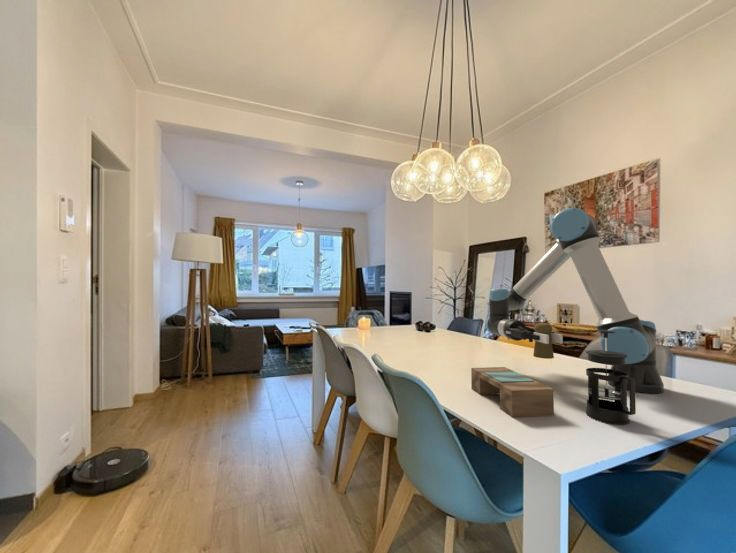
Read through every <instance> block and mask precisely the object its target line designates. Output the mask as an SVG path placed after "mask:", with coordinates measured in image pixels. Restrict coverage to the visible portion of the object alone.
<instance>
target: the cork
mask: <svg viewBox="0 0 736 553" xmlns="http://www.w3.org/2000/svg"><path fill="white" fill-rule="evenodd" d="M533 328H534V329H535V332H536V333H541V334H546V335H549V344H545V343H541V342H538V341H534V347H533V356H532V357H534V358H538V359H547V360H549V359H555V356H554V355H555V354H554V350H553V344H552V341H551V336H550V333H551V332H552V331H553V327H552V325H551V324H550V323H547V322H538V323H535V325H534V327H533Z"/></svg>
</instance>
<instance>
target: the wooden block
mask: <svg viewBox="0 0 736 553" xmlns="http://www.w3.org/2000/svg"><path fill="white" fill-rule="evenodd" d="M470 369H471V372H470V373H471V385H470V386H471V390H472V391H473V392H475V393H477V394H478V395H480V396H483V395H484V396H485V395H486V396H487V395H499V410H501V412H504V413H505V414H507V415H508V416H509V417H511V418H524V417H525V418H528V417H546V416H547V417H549V416H550V415H551V416H554V415H555V408H554V407H555V405H554V404H555V401H554V396H555V395H554V394H555V393H554V388H552V387H550V386H548V385H545V384H543V383H541V382H540V381H537V380H534V379H532V378H530V377H528V376H525V375H523V374H521V373H519V372H517V371H514V370H512V369H510V368H509V367H506V366H497V367H493V366H492V367H491V366H490V367H471V368H470Z"/></svg>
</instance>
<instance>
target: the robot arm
mask: <svg viewBox="0 0 736 553" xmlns="http://www.w3.org/2000/svg"><path fill="white" fill-rule="evenodd" d="M598 232H599V224H598V221H597V220H596V218H595V217H594V216H592V215H591V214H589V213H588V212H586V211H585V210H583V209H581V208H578V207H577V208H576V207H567V208H565V209H562V210H560V211H558V212H557V213H556V214H555V215H554V216H553V217H552V220H551V222H550V233H551V234H552V236H553V237H554V238H555V243H554V245H552V247H551V248H550V249H548V251H546V253H545V254H544V255H543V256H542V257H541V258H540V259H539V260H538V261H537V262H536V263H535V264H534V265H533V266H532V267H531V268H530V270H529V271H527V272H526V273H525V275H523V276H522V278H520V279H519V281H518V282H517V283H516V284H514V286H513V287H512V288H511V289H510V290H509V289H508V288H491V289H490V290H489V296H488V298H489V302H488V303H489V317H487V319H486V321H485V326H484V327H485V329H486V331H487V332H489V333H490V334H493V335H494V336H499V337H502V338H506V339H507V340H513V341H518V342H519V341H523V340H524V341H525V340H528V342H529V343H533V342H535V341H538V342H541V343H545V344H549V335H546V334H541V333H536V332H535V329H534V327H530V326H526V324H525V323H524V322H523V321H521V320H516V319H513V318H512V319H511V318H510V311H518V310H520V309H521V308H523V307H524V306H525V303H526V301H527V300H528V299H529V298H530V297H531V296H532V295H533V294H534V293H535V292H536V291H537V290H538V289H539V288H541V286H542V285H544V283H545V282H546V281H547V280H549V278H551V277H552V275H554V273H556V272H557V271H558V270H559V269H560V268H561V267H562V266H563V265H564V264H565V263H566V262H567V261H568V260H569V259H570V258H571V260H572V262H573V264H574V266H575V268H576V271H577V274H578V276H579V278H580V280H581V282H582V284H583V287H584V289H585V291H586V293H587V296H588V297H589V300H590V302H591V305H592V306H593V309H594V311H595V314H596V316H597V318H598V321H597V322H596V324H595V326H596V329H597V330H610V331H614V332H616V333H608V338H607V351H612V352H618V353H622V354H626V355H627V356H628V357H627V358H625V365H610V366H611V367H610V369H613V370H618V371H621V372H624V373H627V374H628V377H629V378H633V379H635V393H644V394H645V393H647V394H659V393H661V394H662V393H664V390H665V384H664V382H663V380H662V377H661V375H660V373H659V370H658V367H657V343H656V342H657V341H656V339H657V338H656V337H657V336H656V333H657V329H656V324H655V323H654V322H653V321H649V320H643V319H642V320H641V319H640V318H639V315H638V314H634V313H633V312H631V311H629V308H628V306H627V303H626V302H625V300H624V297H623V296H622V293H621V292H620V289H619V287H618V285H617V282H616V280H615V279H614V277H613V274H612V272H611V270H610V268H609V266H608V264H607V261H606V260H605V258H604V255H603V253H602V251H601V249H600V247H599V243H600V241H601V237H600V234H599V233H598ZM598 334H599V336H600V346H601V350H604V351H605V338H604V334H603V333H601V332H598ZM550 336H551V342H553V343H556V344H563V341H564V340H563V338H564V336H563V334H559V333H556V332H555V331H553V330H552V332H551V333H550ZM607 376H614V375H613V374H607ZM607 384H609V385H610V386H612V387H614V381H607ZM627 391H629V380H628V381H627Z"/></svg>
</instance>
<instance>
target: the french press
mask: <svg viewBox="0 0 736 553" xmlns="http://www.w3.org/2000/svg"><path fill="white" fill-rule="evenodd" d="M596 332H597V333H599V332H601V333H603V334H604V338H605V351H604V350H602V349H600V350H599V349H595V350H594V349H593V350H590V349H589V350H586V351H585V353H586V354H587V359H588V361H589V362H592V363H597V364H601V365H604V366H605V368H604V367H603V368H602V367H588V368H586V369H585V372H586V373H585V375H586V376H587V381H588V382H587V386H588V388H587V393H588V396H587V397H588V398H587V400H586V410H585V414H587V415H586V416H587V417H588V416H589V417H588V418H590V417H591V419H592V418H593V419H592V420H594V419H595V421H597V420H598V421H597V422H600V421H601V423H604V422H605V423H604V424H610V425H615V424H616V426H617V425H618V426H621V425H623V426H624V425H628V424H630V422H631V421H630V418H629V417H630V416H633V415H636V412H637V410H636V409H637V408H636V391H635V379H633V378H629V377H628V374H627V373H624V372H621V371H618V370H613V369H611V368H608V365H610V366H612V365H625V358H627V357H628V356H627V355H626V354H622V353H618V352H612V351H607V338H608V333H616V332H614V331H610V330H598V329H597V330H596ZM608 374H613V375H614V376H608ZM601 380H602V381H605V388H602V387H601V388H600V387H599V385H600V384H599V382H600V381H601ZM628 380H629V390H627V381H628ZM608 381H614V386H613V387H614V388H613V390H612V389H609V387H608ZM628 391H629V394H628ZM628 395H629V396H628ZM628 397H629V407H628Z"/></svg>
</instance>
